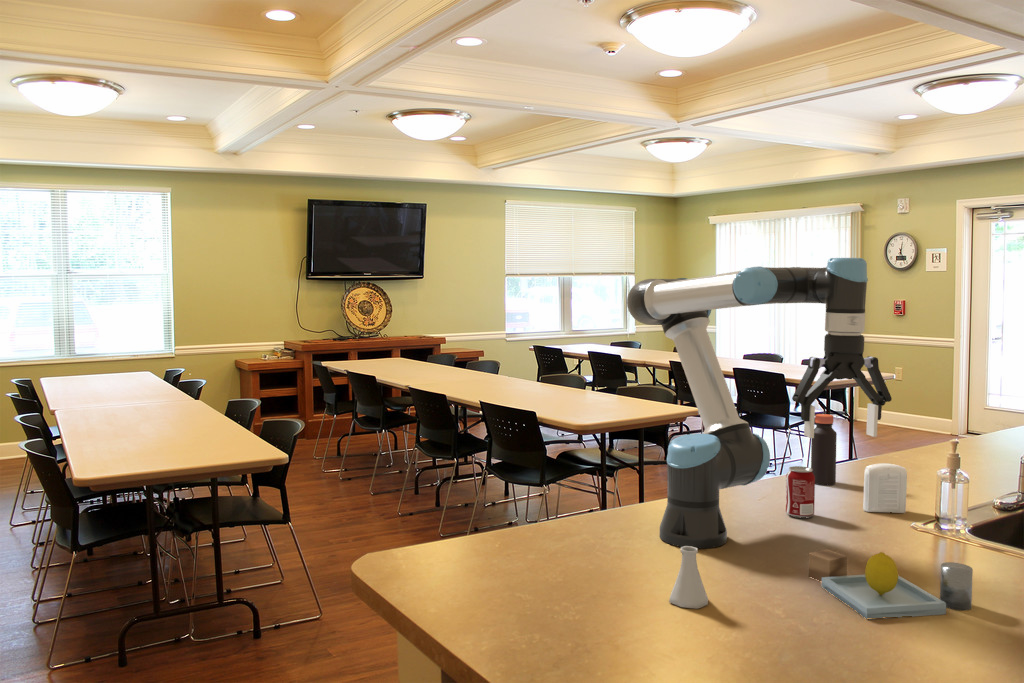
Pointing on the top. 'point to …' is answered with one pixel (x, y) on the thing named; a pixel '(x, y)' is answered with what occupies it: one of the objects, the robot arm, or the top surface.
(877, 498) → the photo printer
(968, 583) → the grey tin
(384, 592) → the top surface
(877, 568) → the lemon
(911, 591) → the dish
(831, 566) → the walnut block
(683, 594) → the flask
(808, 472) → the soda can
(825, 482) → the bottle
